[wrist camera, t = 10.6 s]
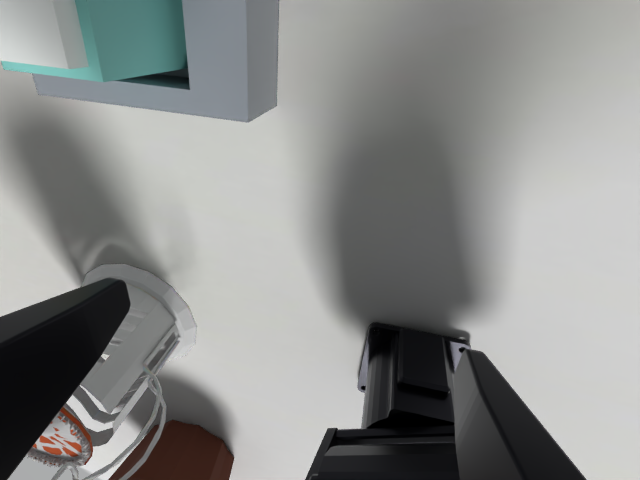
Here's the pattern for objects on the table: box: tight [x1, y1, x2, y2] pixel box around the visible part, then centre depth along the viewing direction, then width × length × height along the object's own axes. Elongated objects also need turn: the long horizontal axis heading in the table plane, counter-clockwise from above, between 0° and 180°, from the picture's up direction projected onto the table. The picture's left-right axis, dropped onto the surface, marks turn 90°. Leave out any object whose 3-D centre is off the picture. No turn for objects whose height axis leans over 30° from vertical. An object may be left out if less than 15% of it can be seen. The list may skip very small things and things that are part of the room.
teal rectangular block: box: [0, 0, 188, 82], centre depth 13 cm, size 4×4×8 cm
